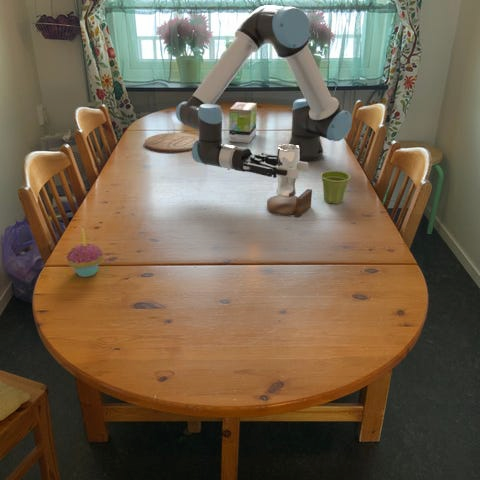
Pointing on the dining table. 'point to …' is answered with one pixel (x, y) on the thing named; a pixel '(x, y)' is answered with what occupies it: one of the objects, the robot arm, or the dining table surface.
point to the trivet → (171, 142)
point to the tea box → (242, 122)
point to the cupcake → (85, 258)
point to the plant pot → (334, 186)
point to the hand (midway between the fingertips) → (302, 170)
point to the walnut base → (290, 204)
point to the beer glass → (290, 159)
